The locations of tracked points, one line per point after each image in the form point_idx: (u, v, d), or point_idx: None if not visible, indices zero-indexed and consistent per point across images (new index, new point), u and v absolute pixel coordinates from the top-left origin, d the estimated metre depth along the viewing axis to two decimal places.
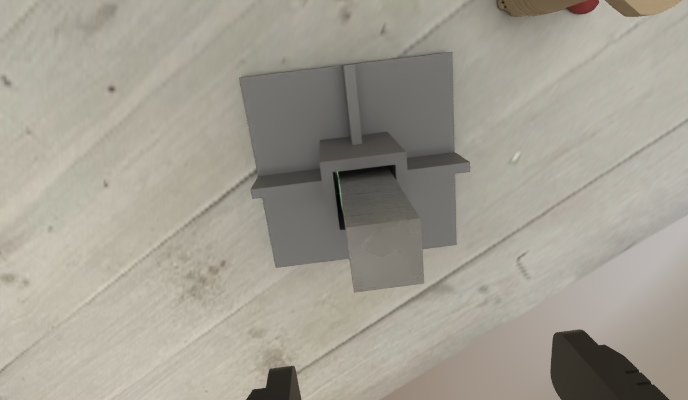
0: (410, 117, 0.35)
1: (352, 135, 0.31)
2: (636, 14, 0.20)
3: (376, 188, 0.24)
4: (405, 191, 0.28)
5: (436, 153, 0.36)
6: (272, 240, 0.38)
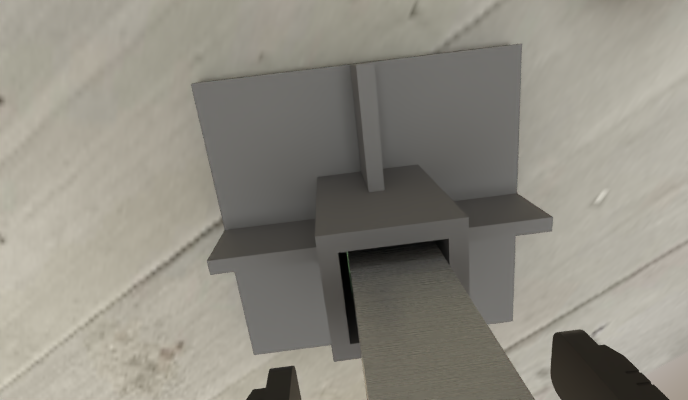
0: (454, 143, 0.23)
1: (369, 177, 0.19)
2: None
3: (425, 304, 0.12)
4: (463, 282, 0.16)
5: (490, 195, 0.24)
6: (248, 318, 0.26)
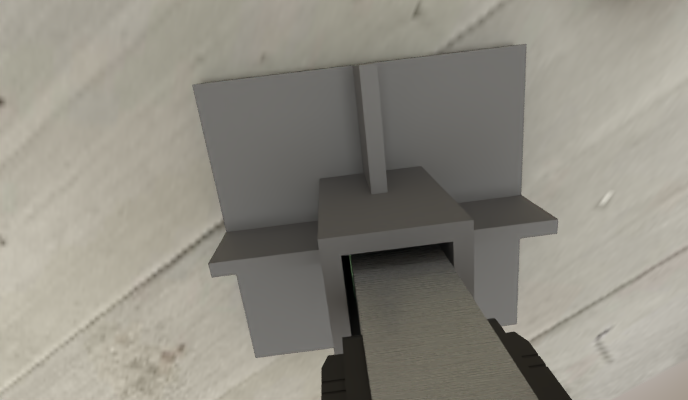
0: (458, 144, 0.23)
1: (372, 179, 0.19)
2: None
3: (429, 308, 0.12)
4: (468, 285, 0.16)
5: (494, 197, 0.24)
6: (250, 321, 0.26)
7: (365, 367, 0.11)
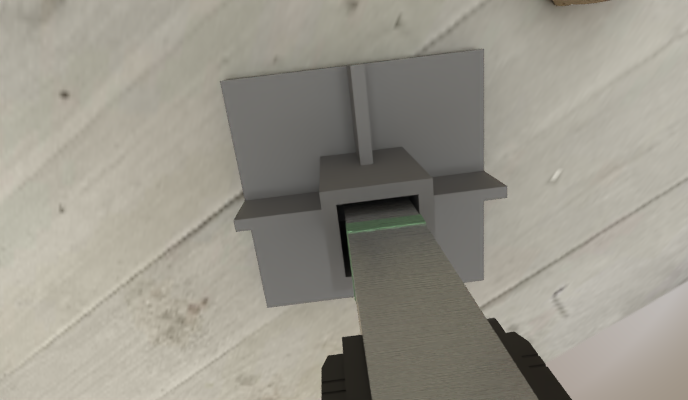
0: (431, 129, 0.28)
1: (361, 153, 0.25)
2: None
3: (430, 308, 0.12)
4: (430, 228, 0.22)
5: (462, 172, 0.30)
6: (263, 276, 0.32)
7: (365, 367, 0.11)
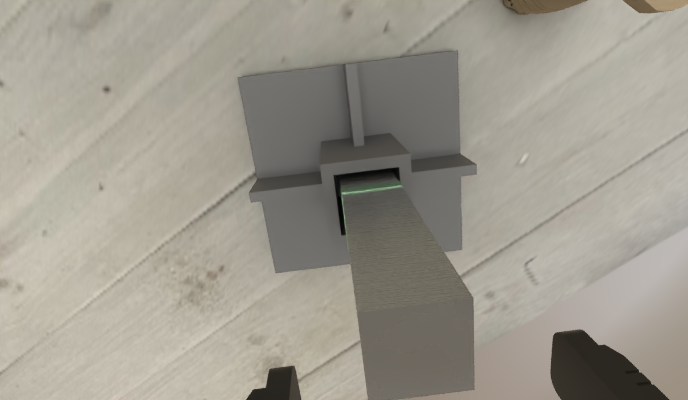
0: (415, 118, 0.34)
1: (354, 136, 0.30)
2: (652, 10, 0.19)
3: (396, 232, 0.17)
4: (409, 195, 0.27)
5: (441, 155, 0.35)
6: (272, 245, 0.37)
7: None
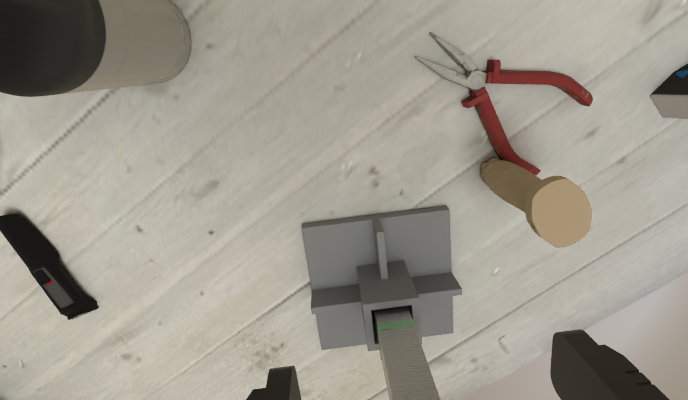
0: (420, 250, 0.49)
1: (381, 273, 0.46)
2: (553, 245, 0.35)
3: (414, 376, 0.33)
4: (418, 320, 0.43)
5: (438, 273, 0.51)
6: (320, 331, 0.53)
7: None
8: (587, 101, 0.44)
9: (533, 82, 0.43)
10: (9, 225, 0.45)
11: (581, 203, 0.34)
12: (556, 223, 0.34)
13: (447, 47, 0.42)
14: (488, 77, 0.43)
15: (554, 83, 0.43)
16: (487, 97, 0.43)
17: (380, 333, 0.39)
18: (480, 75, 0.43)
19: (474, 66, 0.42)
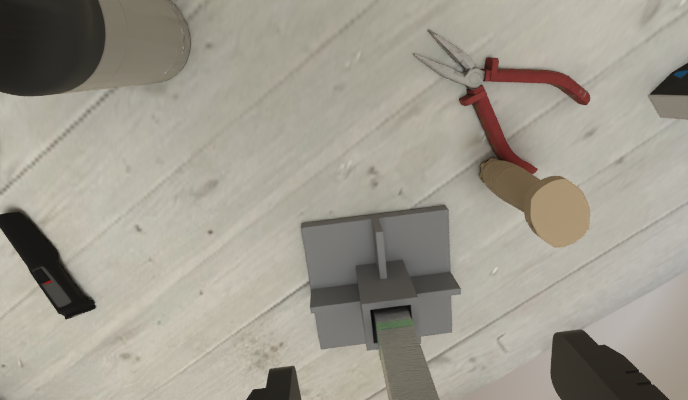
0: (419, 250, 0.50)
1: (380, 273, 0.46)
2: (552, 245, 0.35)
3: (413, 375, 0.33)
4: (417, 320, 0.43)
5: (437, 272, 0.51)
6: (319, 331, 0.53)
7: None
8: (585, 100, 0.44)
9: (531, 80, 0.43)
10: (10, 223, 0.45)
11: (579, 203, 0.34)
12: (554, 223, 0.34)
13: (445, 45, 0.42)
14: (486, 75, 0.43)
15: (552, 82, 0.43)
16: (485, 95, 0.43)
17: (379, 332, 0.39)
18: (478, 73, 0.43)
19: (472, 64, 0.43)
